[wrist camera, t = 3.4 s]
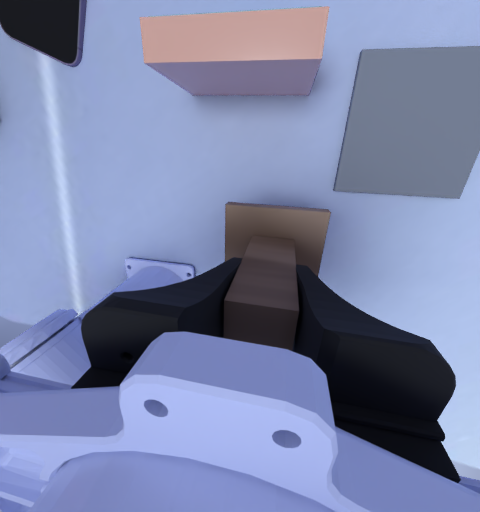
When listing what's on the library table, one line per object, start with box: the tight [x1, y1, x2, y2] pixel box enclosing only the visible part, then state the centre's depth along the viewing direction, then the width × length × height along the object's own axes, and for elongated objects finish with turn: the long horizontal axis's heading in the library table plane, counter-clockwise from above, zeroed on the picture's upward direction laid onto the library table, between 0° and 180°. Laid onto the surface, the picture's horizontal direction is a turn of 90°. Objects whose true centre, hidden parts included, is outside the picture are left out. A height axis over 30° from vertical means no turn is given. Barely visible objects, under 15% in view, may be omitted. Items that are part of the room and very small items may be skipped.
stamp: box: [224, 202, 331, 351], centre depth 12 cm, size 6×6×8 cm
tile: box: [140, 6, 329, 95], centre depth 14 cm, size 2×9×7 cm, turn 88°
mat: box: [333, 46, 480, 199], centre depth 16 cm, size 9×9×1 cm
